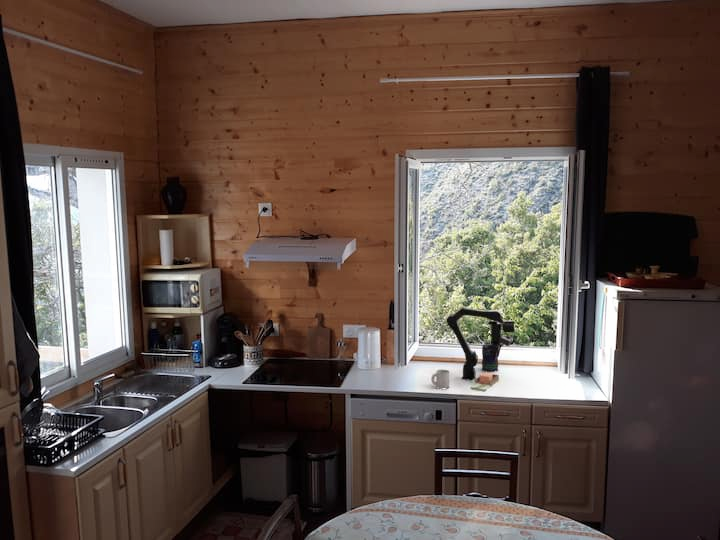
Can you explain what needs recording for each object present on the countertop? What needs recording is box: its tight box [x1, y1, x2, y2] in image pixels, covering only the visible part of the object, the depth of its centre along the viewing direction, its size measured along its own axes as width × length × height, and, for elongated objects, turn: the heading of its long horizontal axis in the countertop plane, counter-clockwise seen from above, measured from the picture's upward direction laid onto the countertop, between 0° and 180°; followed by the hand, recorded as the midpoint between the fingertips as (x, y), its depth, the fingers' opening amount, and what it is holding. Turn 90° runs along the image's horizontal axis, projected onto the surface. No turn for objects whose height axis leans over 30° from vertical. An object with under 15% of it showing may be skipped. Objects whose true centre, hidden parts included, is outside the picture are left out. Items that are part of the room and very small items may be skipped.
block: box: [479, 372, 494, 384], centre depth 342 cm, size 6×6×4 cm
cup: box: [431, 369, 450, 389], centre depth 336 cm, size 7×10×9 cm
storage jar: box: [481, 343, 499, 373], centre depth 369 cm, size 10×10×15 cm
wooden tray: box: [470, 373, 500, 392], centre depth 341 cm, size 9×23×3 cm, turn 149°
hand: (496, 358), depth 347 cm, fingers open, 9 cm apart
